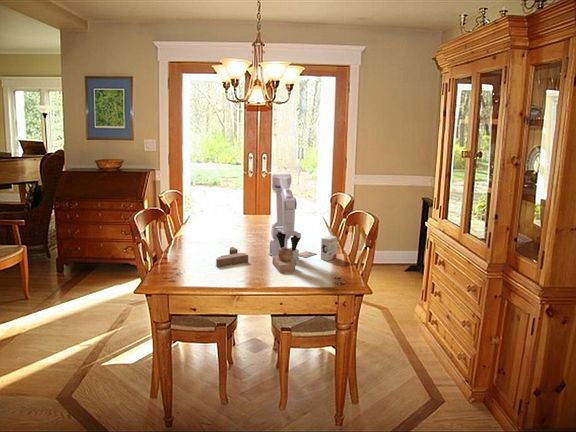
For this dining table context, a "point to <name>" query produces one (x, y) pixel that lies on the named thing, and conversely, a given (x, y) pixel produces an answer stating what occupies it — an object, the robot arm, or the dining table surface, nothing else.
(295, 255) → the cream cube
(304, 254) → the card
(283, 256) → the walnut block
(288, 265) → the brick
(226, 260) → the wooden block set
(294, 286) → the dining table surface
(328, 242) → the ink box
